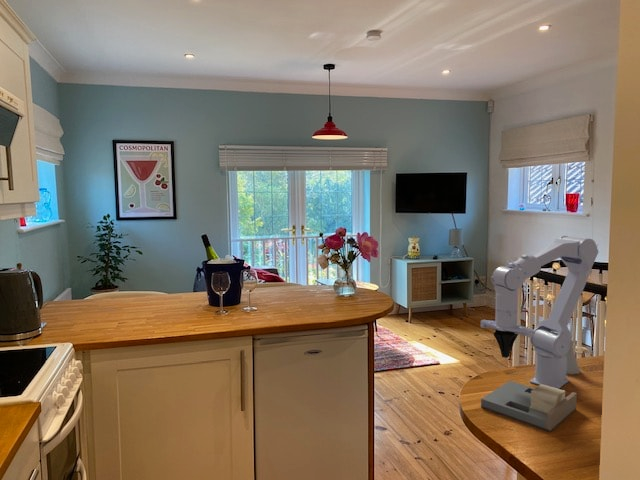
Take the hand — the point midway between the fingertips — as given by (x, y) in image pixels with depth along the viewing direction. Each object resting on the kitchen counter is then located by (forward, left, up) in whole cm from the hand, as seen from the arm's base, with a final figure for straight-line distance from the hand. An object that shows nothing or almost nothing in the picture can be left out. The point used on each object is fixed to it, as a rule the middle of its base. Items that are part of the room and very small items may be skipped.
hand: (505, 356), depth 135 cm
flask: (-27, +7, -11) cm, 30 cm away
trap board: (+6, +9, -10) cm, 15 cm away
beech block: (+6, +14, -8) cm, 17 cm away
